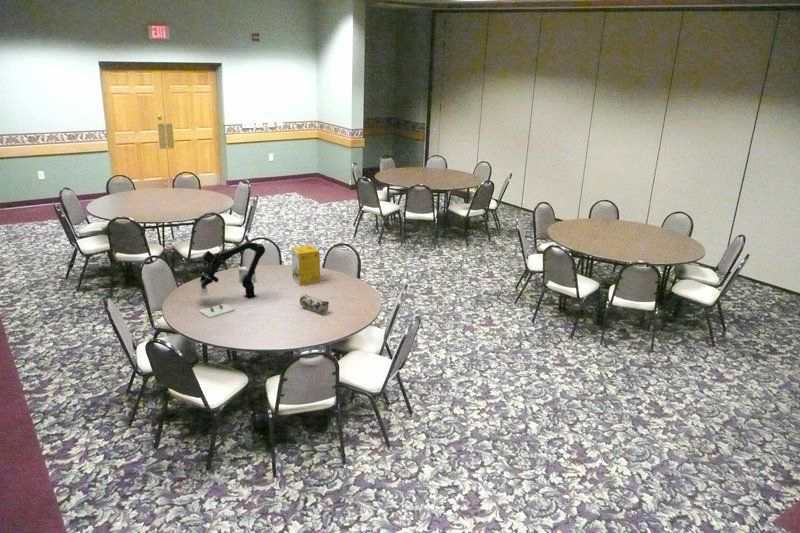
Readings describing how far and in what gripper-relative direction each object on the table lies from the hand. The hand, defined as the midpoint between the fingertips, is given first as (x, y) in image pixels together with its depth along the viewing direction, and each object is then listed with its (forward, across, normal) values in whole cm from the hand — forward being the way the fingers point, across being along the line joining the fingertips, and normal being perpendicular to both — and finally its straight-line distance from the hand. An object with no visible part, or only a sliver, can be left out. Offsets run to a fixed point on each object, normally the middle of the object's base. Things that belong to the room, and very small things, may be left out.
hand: (200, 286), depth 391 cm
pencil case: (-26, +58, +45) cm, 78 cm away
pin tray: (+9, +17, +10) cm, 22 cm away
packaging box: (-46, +10, +66) cm, 81 cm away
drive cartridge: (+4, 0, +6) cm, 7 cm away
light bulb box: (-23, -19, +43) cm, 52 cm away
